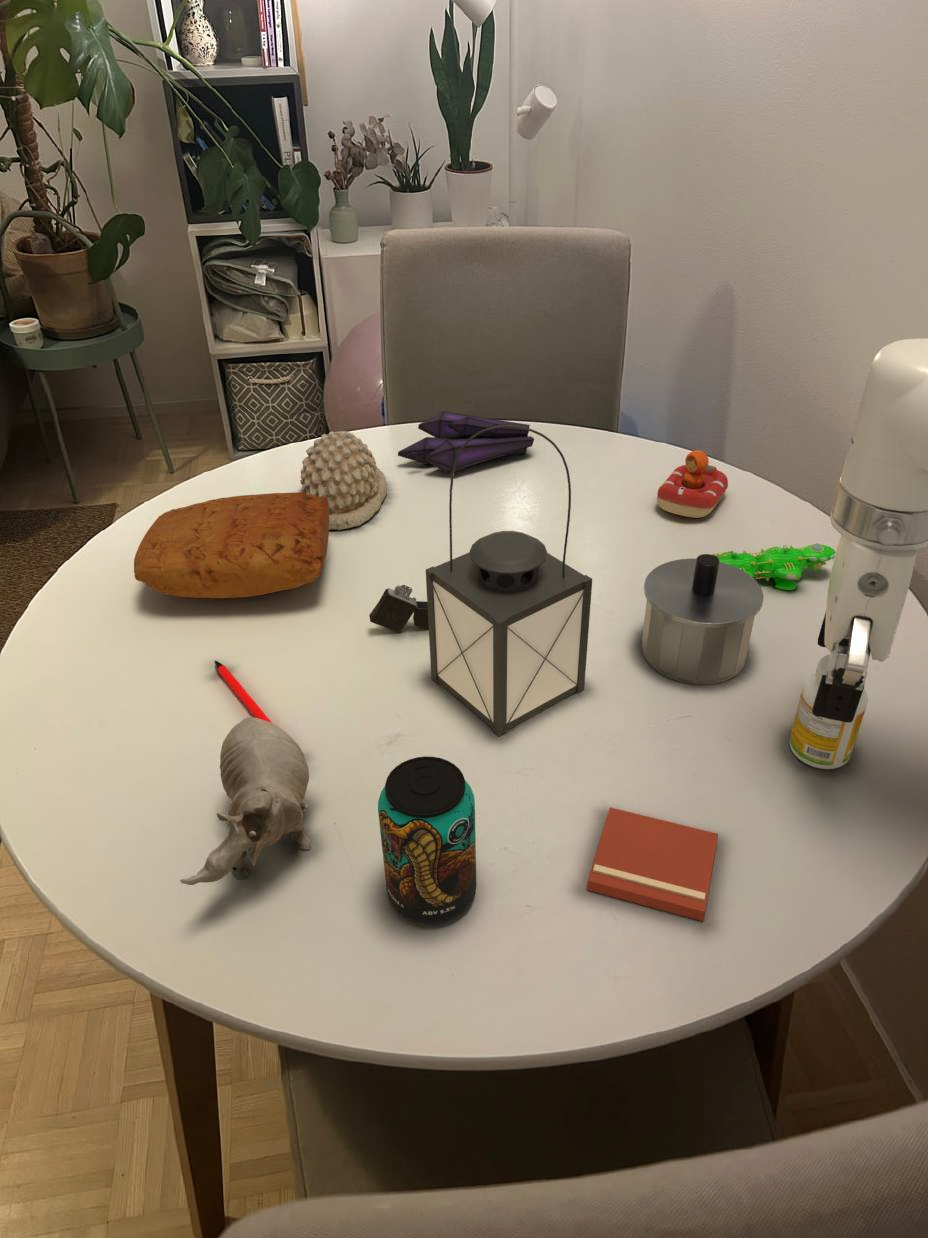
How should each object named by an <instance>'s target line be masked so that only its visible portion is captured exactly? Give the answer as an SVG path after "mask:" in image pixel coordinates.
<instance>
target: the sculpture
mask: <svg viewBox="0 0 928 1238" xmlns="http://www.w3.org/2000/svg"><path fill="white" fill-rule="evenodd" d="M305 452H306V454H307V456H306V457H305V458H303V460H302V461H301V464H302V468H301V469H300V476H299V477H300V480H299V483H300V485H301V488H300V491H299V492H301V493H304V494H313V495H317V496H318V497H324V498H327V499H328V503H329V531H330V530H337V531H341V530H345V529H350V528H354V527H358V526H361V525H363V524H364V523H365V522H367V521H369V520H370V519H371V518H372V517H373V516H374V514H375V513H376V512H378V511H379V510H380V508H381V506H382V502H383V501H384V500H385V497H386V495H387V489H388V488H387V486H388V484H387V480H386V477H385V474H384V472H383V471H382V470H381V468H379V467H378V466H377V461H376V458H375V457H374V456H373V455H374V454H373V452H372V451H371V450H370V449H369V447H368V445H367V443H364V442H363V440H362V439H361V438H358V437H356V435H355V434H354V433H352V432H349V431H346V430H341V431H339V430H338V431H330V432H329V433H328V434H326V433H323V434H321V437H320V438H318V439H317V438H316V439H314V440H313V445H311V446H309V447H308V448H307V449H306V450H305Z"/></svg>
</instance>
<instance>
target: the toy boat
mask: <svg viewBox="0 0 928 1238" xmlns="http://www.w3.org/2000/svg"><path fill="white" fill-rule="evenodd" d="M709 461H710V460H709V457H708V455H707V453H705V452H704V451H703V450H699V449H698V450H697V449H696V450H692V451H690V452H689V453H688V454H687V455H686V456H685V462H684V463H685V464H682V465H679V466H678V467H676V468H675V469H674V470H673V471H672V472H671V473H670V475H669V476H668V477H667V478H666V480H665V481H664V482H663V483H662V484H661V485H660V486H659V488H658V490H657V496H656V503H657V505H658V506H659V508H660V509H662V510H664V511H666V512H667V513H670V514H674V515H678V516H682V517H688V518H694V519H695V518H697V519H699V518H704V517H706V516H708V515H709V514H710V513H712V511H714V508H715V507H716V506H717V504H719V502H720V501H721V499H722V498H723V496H724V495H725V494H726V491H727V489H728V487H729V480H728V477H727V475H726V474H725V473H724V472H722V471H720V470H719V469H718V468H717V467H716V466H714V465H709V463H710V462H709Z"/></svg>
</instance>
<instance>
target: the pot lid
mask: <svg viewBox="0 0 928 1238" xmlns="http://www.w3.org/2000/svg"><path fill="white" fill-rule="evenodd" d="M714 555H715V554H714ZM714 555H712V554H710V553H703V554H702V553H701V554H700V555H698V556H697V557H696V558H681V559H680V558H679V559H675V560H671V561H667V562H664V563H662V564H660V565H658V566H656V567H654V568H653V569H652V570H651V571H650V572H649V573H648V574H647V575H646V578H645V580H644V583H643V593H644V596H645V599H646V601H647V600H648V602H649V603H650V605H651V606H652V607H653V608H654V609H656V610H657V611H658V612H660V613H661V614H663V615H664V616H666V617H668V618H670V619H672V620H675V621H678V622H681V623H684V624H687V625H692V626H698V627H707V628H720V627H729V626H734V625H738V624H741V623H744V622H746V621H748V620H750V619H751V618H753V617H754V616H757V615H758V614H759V612H761V609H762V606H763V603H764V591H763V589H762V587H761V585H760V584H759V583H758V581H757V579H754V578H755V577H754V578H753V577H751V576H750V575H749V574H747V573H746V572H744V571H742V570H741V569H739V568H736V567H734V566H732V565H729V564H726V563H722V562H719V559H718V558H717V557H716V556H717V555H716V556H714ZM754 618H755V617H754Z"/></svg>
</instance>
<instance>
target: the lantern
mask: <svg viewBox="0 0 928 1238" xmlns="http://www.w3.org/2000/svg"><path fill="white" fill-rule="evenodd" d="M497 428H517V429H523V430H528V431H529V432H531V433H534V434H535V435H538V436H540V437H542V438H544V439H545V440H546V441H547V442H549V443H550V444H551V445H552V446H553V447H554V448H555V450H556V451H557V452H558V454H559V455H560V457H561V459H562V462H563V465H564V468H565V472H566V478H567V479H566V480H567V485H568V490H567V491H568V504H567V505H568V506H567V507H568V509H567V519H566V529H565V537H564V538H565V539H564V544H563V545H564V546H563V555H562V560H560V559H559V558H557V557H555V556H553V555H552V554H550V553H549V552H548V550H547V547H546V545H545V544H544V543H543V542H542V541H541V540H540V539H538V538H536V537H534V536H532V535H529V534H527V533H525V532H521V531H516V530H500V531H495V532H491V533H489V534H487V535H484V536H482V537H480V538H478V539H477V540H475V542H474V543H472V545H471V547H470V549H469V552H466V553H464V554H462V555H460V556H457V557H455V558H453V524H452V523H453V522H452V521H453V520H452V518H453V517H452V516H453V514H452V513H453V512H452V509H453V508H452V505H453V486H454V475H455V472H456V471H455V468H456V463H457V460H458V458H459V456H460V454H461V452H462V450H463V448H464V447H465V446H466V445H467V444H468V443H469V441H470V440H471V439H473V438H474V437H476V436H478V435H479V434H481V433H483V432H486V431H489V430H493V429H497ZM571 485H572V484H571V477H570V470H569V467H568V464H567V461H566V458H565V456H564V454H563V452H562V451H561V450H560V448H559V447H558V445H556V443H555V442H554V441H553V440H552V439H550V438H549V437H548V436H546V435H545V434H543V433H541V432H539V431H537V430H535V429H533V428H530V427H529V428H526V427H520V426H513V425H506V426H495V427H491V428H488V429H484V430H482V431H480V432H478V433H477V434H475V435H473V436H472V437H470V438H469V439H468V440H467V441H466V443H465V444H464V445H463V446H462V447H461V449H460V450H459V453H458V455H457V457H456V459H455V461H454V466H453V470H452V473H450V485H449V500H448V501H449V503H448V506H449V507H448V508H449V509H448V510H449V511H448V513H449V515H448V516H449V517H448V518H449V519H448V521H449V522H448V523H449V560H448V561H445V562H443V563H441V564H438V565H436V566H434V565H433V566H430V567H428V568H426V569H425V583H426V584H425V585H426V586H425V587H426V602H427V605H428V624H429V629H428V640H429V658H430V659H429V660H430V678H431V680H432V681H433V682H434V683H436V684H439V685H440V686H442V687H443V688H444V690H446V691H447V692H449V693H450V695H452V696H453V697H454V698H456V699H457V700H458V701H459V702H460V703H461V704H463V705H464V706H465V707H466V708H467V709H468V710H470V711H471V712H472V713H473V714H474V715H476V716H477V717H478V718H479V719H481V721H483V722H484V723H485V724H486V725H488V727H489V728H491V729H493V730H492V731H493V733H494V734H496V735H497V737H501V736H503V735H505V734H506V733H508V732H507V731H510V730H511V729H513V728H515V727H517V726H518V725H520V724H522V723H523V722H525V721H527V720H529V719H531V718H532V717H534V716H536V715H538V714H539V713H542V712H543V711H545V710H547V709H549V708H550V707H552V706H554V705H557V704H558V703H559V702H561V701H563V700H565V699H567V698H568V697H570V696H572V695H574V694H575V693H577V694H579V693H580V692H582V691H584V690H585V685H586V684H585V683H586V669H587V659H588V657H587V656H588V646H589V645H588V644H589V631H590V617H591V615H590V614H591V604H592V603H591V602H592V591H593V578H592V577H591V576H589V575H587V574H583V573H581V572H579V571H578V570H577V569H575V568H573V567H571V566H570V565H568V564H567V563H566V555H567V546H568V537H569V532H570V531H569V530H570V521H571V509H572V507H571V506H572V486H571Z"/></svg>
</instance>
